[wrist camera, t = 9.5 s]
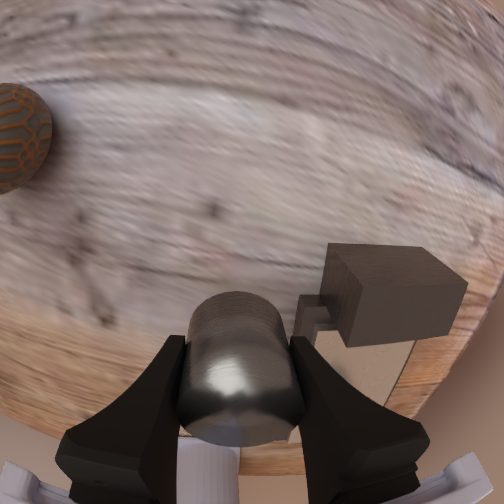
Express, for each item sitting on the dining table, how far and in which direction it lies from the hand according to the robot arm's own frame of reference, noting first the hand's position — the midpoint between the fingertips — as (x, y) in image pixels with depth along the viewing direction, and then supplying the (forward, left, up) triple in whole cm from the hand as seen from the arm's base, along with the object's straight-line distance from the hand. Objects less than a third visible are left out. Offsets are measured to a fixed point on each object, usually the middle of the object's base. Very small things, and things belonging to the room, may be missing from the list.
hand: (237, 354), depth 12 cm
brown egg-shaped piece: (+10, +15, -9) cm, 20 cm away
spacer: (0, 0, -2) cm, 2 cm away
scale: (-8, -10, -8) cm, 16 cm away
